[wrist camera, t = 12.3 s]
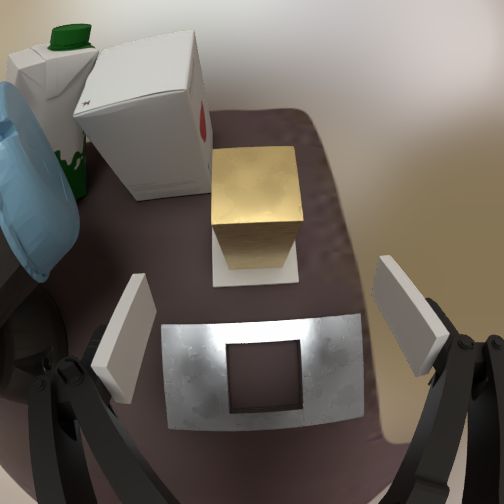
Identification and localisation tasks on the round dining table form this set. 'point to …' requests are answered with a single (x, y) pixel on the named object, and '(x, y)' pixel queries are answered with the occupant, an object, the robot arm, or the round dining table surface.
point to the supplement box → (151, 116)
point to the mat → (251, 271)
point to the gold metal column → (255, 205)
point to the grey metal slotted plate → (303, 330)
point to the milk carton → (58, 93)
